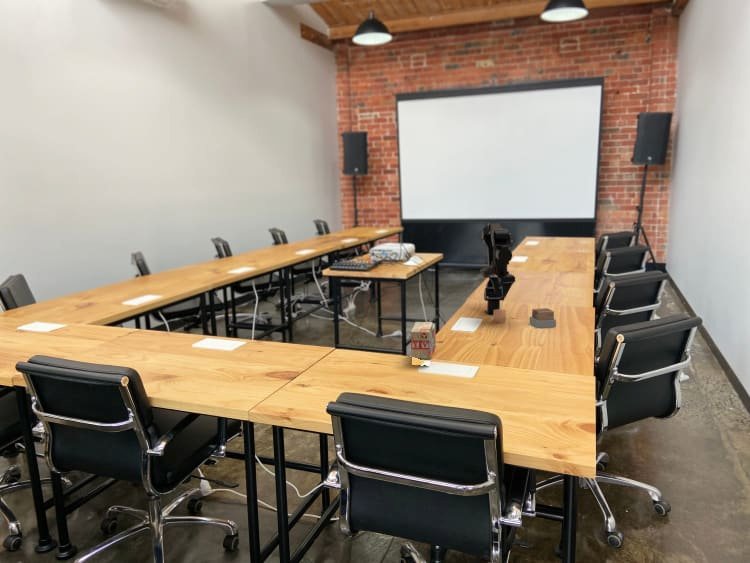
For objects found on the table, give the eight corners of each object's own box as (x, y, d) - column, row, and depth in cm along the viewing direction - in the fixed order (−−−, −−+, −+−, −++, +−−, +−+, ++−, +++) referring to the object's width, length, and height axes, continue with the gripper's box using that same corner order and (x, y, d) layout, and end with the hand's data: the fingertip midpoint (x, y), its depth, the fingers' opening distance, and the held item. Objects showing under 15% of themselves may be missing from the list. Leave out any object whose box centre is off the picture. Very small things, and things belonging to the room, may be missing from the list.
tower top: (531, 317, 229) (532, 309, 229) (546, 316, 230) (546, 308, 229) (538, 320, 223) (539, 312, 222) (553, 319, 224) (553, 311, 223)
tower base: (529, 324, 230) (529, 316, 230) (547, 323, 231) (547, 315, 231) (537, 329, 223) (537, 321, 222) (555, 328, 224) (556, 320, 223)
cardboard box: (419, 347, 203) (418, 315, 201) (435, 347, 202) (435, 315, 199) (411, 366, 182) (410, 330, 180) (429, 367, 181) (429, 331, 179)
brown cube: (491, 320, 237) (491, 309, 236) (503, 320, 238) (503, 309, 237) (495, 323, 232) (495, 312, 231) (507, 323, 233) (507, 311, 232)
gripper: (475, 257, 238) (475, 292, 241) (489, 263, 220) (489, 301, 223) (499, 256, 239) (499, 290, 242) (516, 262, 221) (515, 299, 224)
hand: (500, 295), depth 233 cm, fingers open, 9 cm apart
